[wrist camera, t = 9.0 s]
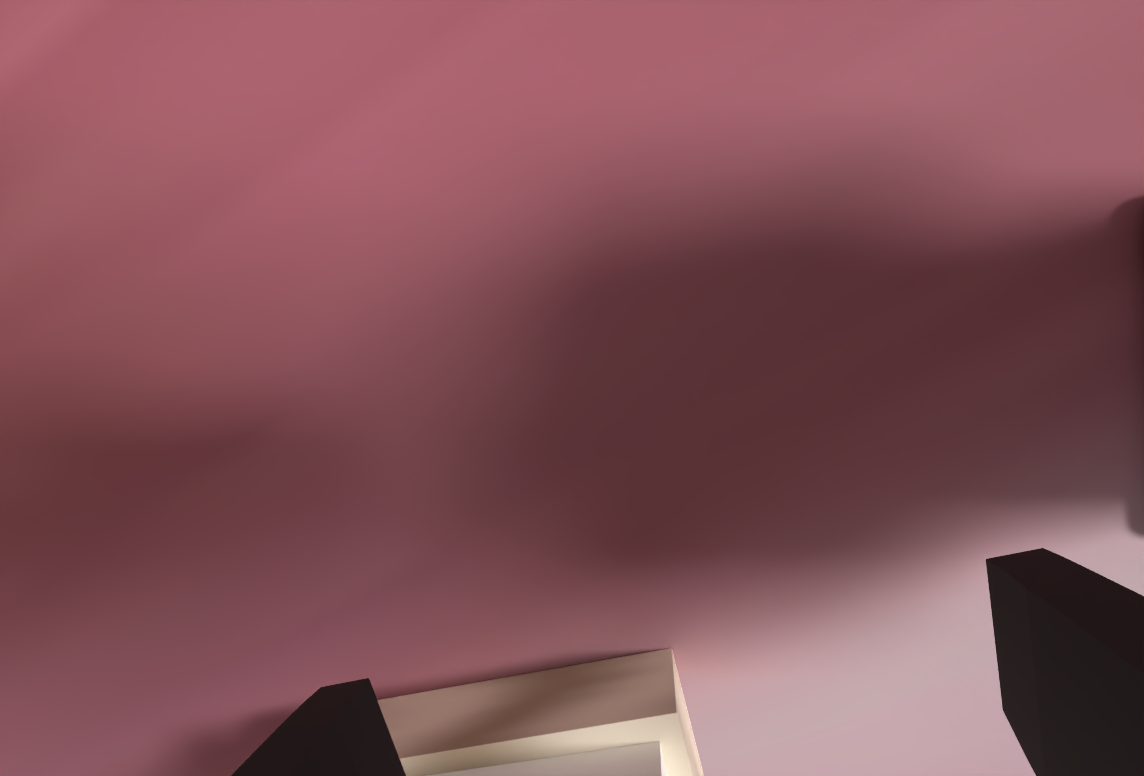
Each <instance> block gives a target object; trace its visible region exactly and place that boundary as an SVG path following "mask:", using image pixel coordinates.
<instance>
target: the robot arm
mask: <svg viewBox="0 0 1144 776" xmlns="http://www.w3.org/2000/svg"><path fill="white" fill-rule="evenodd" d="M986 565H987V574H988V583H989V591H990V600H991V609H992V618H993V627H994V635H995V644H996V653H997V662H998V671H999V680H1000V688H1001V697H1002V706H1003V711H1004V713H1005V715H1006V717H1007V719H1008V721H1009V723H1010V725H1011V727H1012V729H1013V731H1014V733H1015V735H1016V737H1017V739H1018V741H1019V743H1020V745H1021V747H1022V749H1023V751H1024V753H1025V755H1026V757H1027V759H1028V761H1029V763H1030V765H1031V767H1032V769H1033V771H1034V772H1035V774H1036V776H1144V596H1142V595H1140V594H1138V593H1136V592H1134V591H1132V590H1130V589H1128V588H1126V587H1124V586H1122V585H1120V584H1118V583H1116V582H1114V581H1112V580H1110V579H1107V578H1105V577H1103V576H1101V575H1099V574H1097V573H1095V572H1093V571H1091V570H1089V569H1087V568H1085V567H1083V566H1081V565H1079V564H1077V563H1075V562H1073V561H1071V560H1068V559H1066V558H1064V557H1062V556H1060V555H1058V554H1055V553H1053V552H1051V551H1049V550H1046V549H1044V548H1041V549H1036V550H1031V551H1025V552H1020V553H1015V554H1010V555H1005V556H999V557H994V558H989V559H986ZM231 776H406V774H405V772H404V769H403V766H402V764H401V761H400V758H399V756H398V753H397V751H396V748H395V745H394V743H393V740H392V738H391V735H390V732H389V730H388V727H387V724H386V722H385V719H384V717H383V714H382V711H381V709H380V706H379V704H378V701H377V698H376V696H375V693H374V691H373V688H372V685H371V683H370V680H369V678H367V679H362V680H356V681H351V682H346V683H341V684H336V685H330V686H325V687H321V688H320V689H319V690H317V691H316V692H315V693H314V694H313V695H312V696H311V697H309V698H308V699H307V700H306V701H305V702H304V703H303V704H302V705H301V706H300V707H299V708H298V709H297V710H296V711H295V712H294V713H293V714H292V715H290V716H289V717H288V718H287V719H286V720H285V721H284V722H283V723H282V724H281V725H280V726H279V727H278V728H277V729H276V730H275V732H274V733H273V734H272V735H271V736H270V737H269V738H268V739H267V740H266V741H265V742H264V743H263V744H262V745H261V746H260V747H259V748H258V749H257V750H256V751H255V752H254V753H253V754H252V755H251V756H250V757H249V758H248V759H247V760H246V761H245V762H244V763H243V764H242V765H241V766H240V767H239V768H238V769H237V770H236V771H235V772H234V773H233V774H232V775H231Z"/></svg>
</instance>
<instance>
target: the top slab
mask: <svg viewBox="0 0 1144 776" xmlns="http://www.w3.org/2000/svg"><path fill="white" fill-rule="evenodd" d="M427 776H668V773H667V769H666V765H665V760H664V756H663V752H662V748H661V744H660V741H657V742H651V743H644V744H637V745H630V746H624V747H617V748H610V749H603V750H596V751H590V752H583V753H576V754H569V755H563V756H556V757H549V758H542V759H536V760H529V761H522V762H515V763H508V764H502V765H495V766H488V767H481V768H475V769H468V770H461V771H454V772H448V773H441V774H434V775H427Z"/></svg>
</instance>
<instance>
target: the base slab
mask: <svg viewBox="0 0 1144 776" xmlns="http://www.w3.org/2000/svg"><path fill="white" fill-rule="evenodd" d="M377 701H378V704H379V706H380V709H381V711H382V714H383V717H384V719H385V722H386V724H387V727H388V730H389V732H390V735H391V738H392V740H393V743H394V745H395V748H396V751H397V753H398V756H399V758H400V761H401V764H402V766H403V769H404V772H405V774H406V776H427V775H434V774H441V773H448V772H454V771H461V770H468V769H475V768H481V767H488V766H495V765H502V764H508V763H515V762H522V761H529V760H536V759H542V758H549V757H556V756H563V755H569V754H576V753H583V752H590V751H596V750H603V749H610V748H617V747H624V746H630V745H637V744H644V743H651V742H657V741H660V744H661V748H662V752H663V756H664V760H665V765H666V769H667V773H668V776H704V774H703V770H702V766H701V762H700V758H699V754H698V750H697V747H696V743H695V739H694V735H693V731H692V727H691V723H690V719H689V715H688V711H687V707H686V703H685V699H684V695H683V691H682V687H681V683H680V679H679V675H678V671H677V667H676V663H675V660H674V656H673V652H672V648H669V649H663V650H658V651H652V652H647V653H641V654H635V655H630V656H624V657H618V658H613V659H607V660H601V661H596V662H590V663H584V664H579V665H573V666H567V667H562V668H556V669H550V670H545V671H539V672H533V673H528V674H522V675H516V676H511V677H505V678H499V679H494V680H488V681H483V682H477V683H471V684H466V685H460V686H454V687H449V688H443V689H437V690H432V691H426V692H420V693H415V694H409V695H403V696H398V697H392V698H386V699H381V700H377Z"/></svg>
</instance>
